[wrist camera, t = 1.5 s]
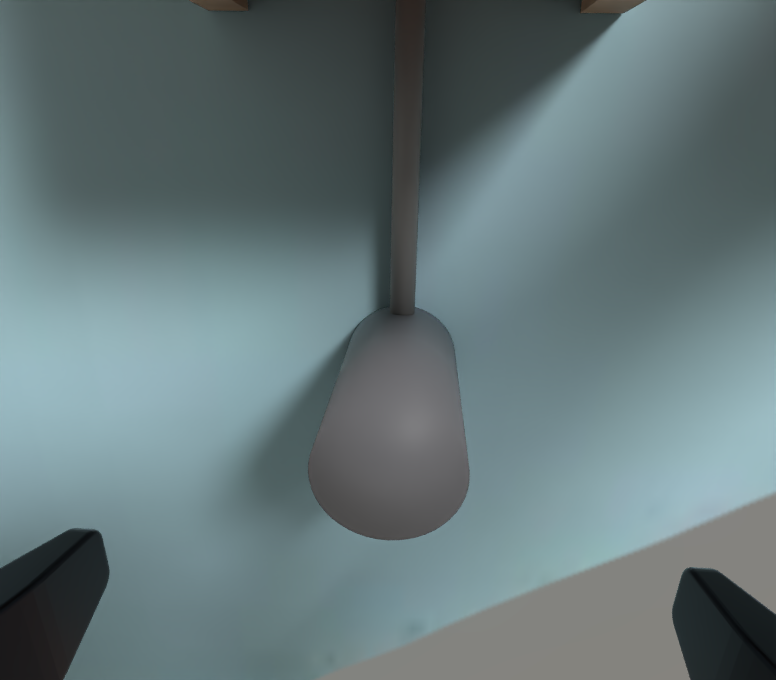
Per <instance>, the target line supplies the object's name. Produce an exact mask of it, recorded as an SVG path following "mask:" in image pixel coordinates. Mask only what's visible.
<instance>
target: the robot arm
mask: <svg viewBox="0 0 776 680" xmlns="http://www.w3.org/2000/svg"><path fill="white" fill-rule="evenodd" d="M108 579H109V565H108V561H107V556H106V552H105V547H104V543H103V539H102V535H101V534H100V532H99V531H97V530H95V529H82V528H74V529H70V530H68V531H66V532H64V533H62V534H60V535H58V536H57V537H55V538H53V539H51V540H50V541H48V542H46V543H44V544H42V545H41V546H39V547H37V548H35V549H34V550H32V551H30V552H28V553H26V554H25V555H23V556H21V557H19V558H18V559H16V560H14V561H12V562H11V563H9V564H7V565H5V566H3V567H2V568H0V680H63V679H64V677H65V675H66V673H67V671H68V669H69V667H70V665H71V662H72V660H73V658H74V656H75V654H76V651H77V649H78V647H79V645H80V643H81V640H82V638H83V636H84V634H85V632H86V630H87V627H88V625H89V623H90V621H91V619H92V616H93V614H94V612H95V610H96V608H97V605H98V603H99V601H100V599H101V597H102V595H103V592H104V590H105V588H106V585H107V583H108ZM672 618H673V624H674V627H675V630H676V634H677V637H678V640H679V644H680V647H681V650H682V653H683V657H684V660H685V663H686V667H687V670H688V673H689V677H690V679H691V680H776V614H775V613H773V612H772V611H770V610H769V609H768V608H767V607H765V606H764V605H763V604H761V603H760V602H759V601H758V600H756V599H755V598H754V597H752V596H751V595H750V594H748V593H747V592H746V591H744V590H743V589H742V588H740V587H739V586H738V585H736V584H735V583H734V582H732V581H731V580H730V579H728V578H727V577H726V576H724V575H723V574H722V573H720V572H719V571H717V570H715V569H710V568H694V567H690V568H686V569H685V570H684V572H683V574H682V576H681V580H680V583H679V586H678V590H677V593H676V597H675V601H674V604H673V609H672Z"/></svg>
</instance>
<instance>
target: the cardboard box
mask: <svg viewBox="0 0 776 680" xmlns="http://www.w3.org/2000/svg"><path fill="white" fill-rule="evenodd" d="M189 1H191V2H193V3H195V4H197V5H199V6H201V7H203V8H205V9H206V10H214V11H248V0H189ZM644 1H646V0H582V3H581V10H580V13H625V12H627V11H628V10H630V9H632V8H634V7H635V6H637V5H639V4H641V3H642V2H644Z"/></svg>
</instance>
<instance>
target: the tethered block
mask: <svg viewBox="0 0 776 680" xmlns="http://www.w3.org/2000/svg"><path fill="white" fill-rule="evenodd" d="M425 17H426V0H396V9H395V61H394V112H393V164H392V216H391V267H390V307H386V308H383V309H380V310H378V311H375V312H374V313H372V314H370V315H369V316H367V317H366V318H365V319H364V320H363V321H362V322H361V323H360V324H359V325H358V327H357V328H356V329H355V331H354V333H353V335H352V338H351V340H350V343H349V346H348V349H347V352H346V355H345V357H344V360H343V363H342V366H341V369H340V371H339V374H338V377H337V380H336V383H335V386H334V388H333V391H332V394H331V397H330V400H329V402H328V405H327V408H326V411H325V414H324V417H323V419H322V422H321V425H320V428H319V431H318V433H317V436H316V439H315V442H314V445H313V448H312V450H311V453H310V458H309V463H308V474H309V481H310V485H311V489H312V491H313V493H314V496H315V498H316V499H317V501H318V503H319V504H320V506H321V507H322V508H323V509H324V511H325V512H326V513H327V514H328V515H329V516H330V517H331V518H332V519H334V520H335V521H336V522H337V523H339V524H340V525H342V526H343V527H345V528H347V529H349V530H351V531H353V532H355V533H357V534H360V535H363V536H366V537H370V538H375V539H382V540H404V539H410V538H415V537H419V536H422V535H425V534H427V533H429V532H432V531H434V530H436V529H437V528H439V527H440V526H442V525H443V524H445V523H446V522H447V521H448V520H450V519H451V517H452V516H453V515H454V514H455V513H456V512H457V511H458V509H459V508H460V506H461V505H462V503H463V501H464V499H465V497H466V494H467V491H468V486H469V463H468V455H467V447H466V439H465V431H464V423H463V415H462V407H461V399H460V391H459V382H458V374H457V366H456V358H455V350H454V345H453V341H452V338H451V336H450V334H449V332H448V331H447V329H446V327H445V326H444V325H443V324H442V323H441V322H440V321H439V320H438V319H437V318H436V317H434V316H433V315H431V314H430V313H428V312H426V311H424V310H422V309H419V308H415V285H416V258H417V232H418V205H419V178H420V151H421V124H422V97H423V71H424V44H425Z"/></svg>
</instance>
